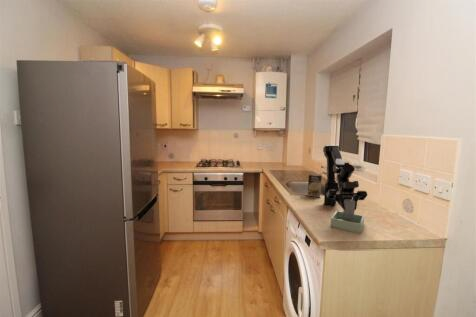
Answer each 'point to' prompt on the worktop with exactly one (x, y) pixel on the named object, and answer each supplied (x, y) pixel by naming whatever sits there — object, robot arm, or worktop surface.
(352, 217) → the ball
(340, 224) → the sage bin
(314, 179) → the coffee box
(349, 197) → the coffee mug
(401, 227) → the worktop surface
